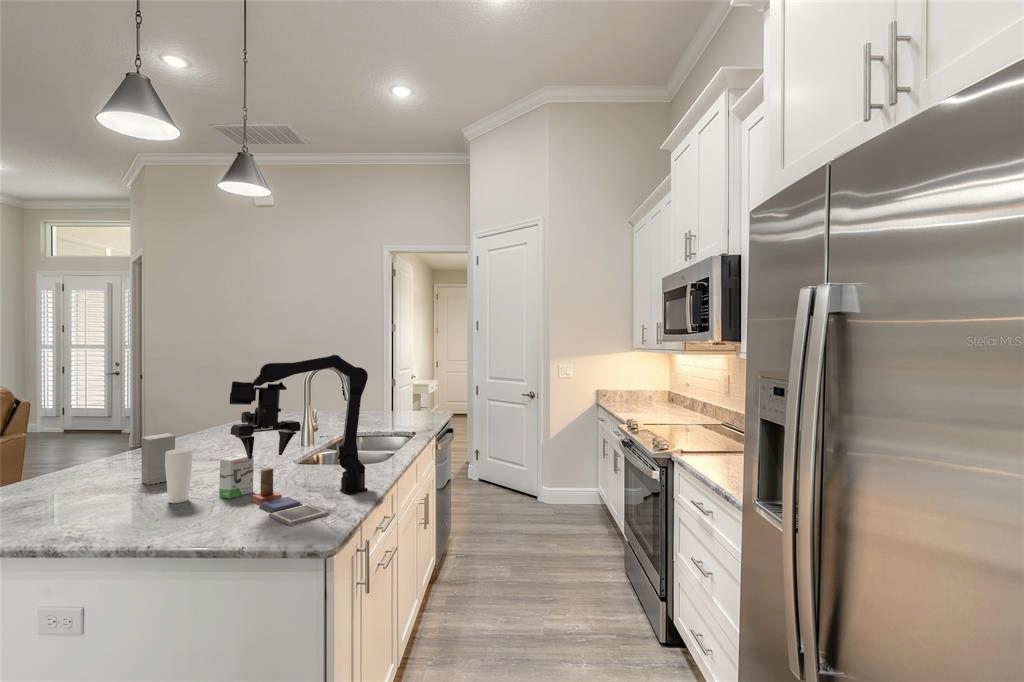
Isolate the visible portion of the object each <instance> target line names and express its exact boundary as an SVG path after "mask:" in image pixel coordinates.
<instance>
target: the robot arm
mask: <svg viewBox="0 0 1024 682" xmlns="http://www.w3.org/2000/svg"><path fill="white" fill-rule="evenodd" d="M330 368H331V369H332V368H333V369H335V370H336V371H338V372H339V373H341V374H342V375H344V376H345V377H346V388H347V395H348V396H347V405H346V411H345V419H344V420H345V421H344V427H343V437H342V440H341V442H340V443H338V442H336V445H335V446H336V451H335V453H334V456H335V458H336V460H337V462H338V464H339V466H340V467H341V468H342V469H344V471H342V477H341V479H340V480H341V481H340V483H341V484H340V489H339V491H340V492H342V493H346V494H348V495H354V494H357V493H362V492H365V491H368V490H369V489H368V488H367V487H366V482H365V481H366V466H365V465H364V464H363V462H362V461H361V460H360V459H359V450H358V444H357V437H358V436H357V435H358V428H359V418H360V409H361V403H362V402H361V400H362V396H363V394H364V390H365V388H366V385H367V381H368V379H369V373H368V371H367V370H365V368H363V367H358V366H354V365H353V364H351V363H349V362H348V361H347V360H345V359H343V358H341V356H340V355H338V354H331V355H328V356H323V357H322V356H321V357H315V358H311V359H305V360H299V361H294V362H267V363H265V364H263V365H262V366H261V368H260V371H259V375H258V376H257V377H256V378H254V379H253V381H237V380H236V381H232V382H231V389H230V393H229V405H231V406H232V405H235V406H236V405H238V406H239V405H241V406H242V405H252V403H253V402H256V401H257V407H255V409H254V412H252V413H251V411H243V412H242V413H241V417H240V418H241V423H239V424H238V423H237V424H233V425H232V426H231V427H230V435H232V436H235V437H236V438H237V439H240V441H241V443H242V445H243V448H244V450H245V452H246V455H247V456H248V459H252V455H253V456H254V447H255V446H254V444H255V436H254V435H253V434H254V433H260V432H270V431H271V432H272V431H277V432H278V436H279V441H278V442H279V443H278V456H282V455H283V453H284V451H286V449H287V446H288V444H289V442H290V441H291V440H292V438H293V437H294V435H297V432H301V430H302V429H301V428H302V425H301V423H300V421H297V420H292V419H291V420H290V419H289V420H281V421H279V413H281V411H282V408H281V407H280V393H281V391H286V390H287V389H288V388H287V386H285V384H284V383H283V381H281V380H283V379H286V378H288V377H291V376H294V375H298V374H305V373H308V372H309V373H310V372H315V371H320V370H326V369H330ZM278 381H280V382H278ZM274 382H278V383H274ZM266 383H268V384H267V386H262V385H265V384H266ZM257 390H258V398H257ZM256 399H257V400H256ZM353 493H354V494H353Z"/></svg>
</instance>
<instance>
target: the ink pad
mask: <svg viewBox="0 0 1024 682" xmlns="http://www.w3.org/2000/svg"><path fill="white" fill-rule="evenodd" d="M299 506H303V503H301V501H299V500H297V499H294V498H292V497H290V496H286V497H285V496H284V497H282V498H280V499H276V500H271V501H267V502H263V503H262V505H259V509H261V510H263V511H265V512H268V513H269V512H270V513H269V514H271V513H275V512H279V511H283V510H287V509H291V508H295V507H299Z"/></svg>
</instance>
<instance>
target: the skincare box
mask: <svg viewBox="0 0 1024 682" xmlns="http://www.w3.org/2000/svg"><path fill="white" fill-rule="evenodd" d="M175 449H176V435H174V434H171V433H167V432H166V433H160V434H154V435H153V434H152V435H146V436H141V483H142V484H145V483H146V484H145V485H147V484H148V485H147V486H151V485H150V484H153V485H156V484H155V483H157V484H161V483H160V482H162V483H166V482H165V481H166V471H165V454H166V452H167V451H169V450H175Z"/></svg>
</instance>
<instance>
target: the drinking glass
mask: <svg viewBox="0 0 1024 682" xmlns="http://www.w3.org/2000/svg"><path fill="white" fill-rule="evenodd" d="M192 468H193V449H191V448H177V449H176V448H175V450H169V451H167V452H166V454H165V471H166V481H167V482H166V489H167V491H166V492H167V502H168V504H180V503H186V502H187V501H188V500H189V499H190V486H191V479H192V477H191V476H192Z"/></svg>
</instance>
